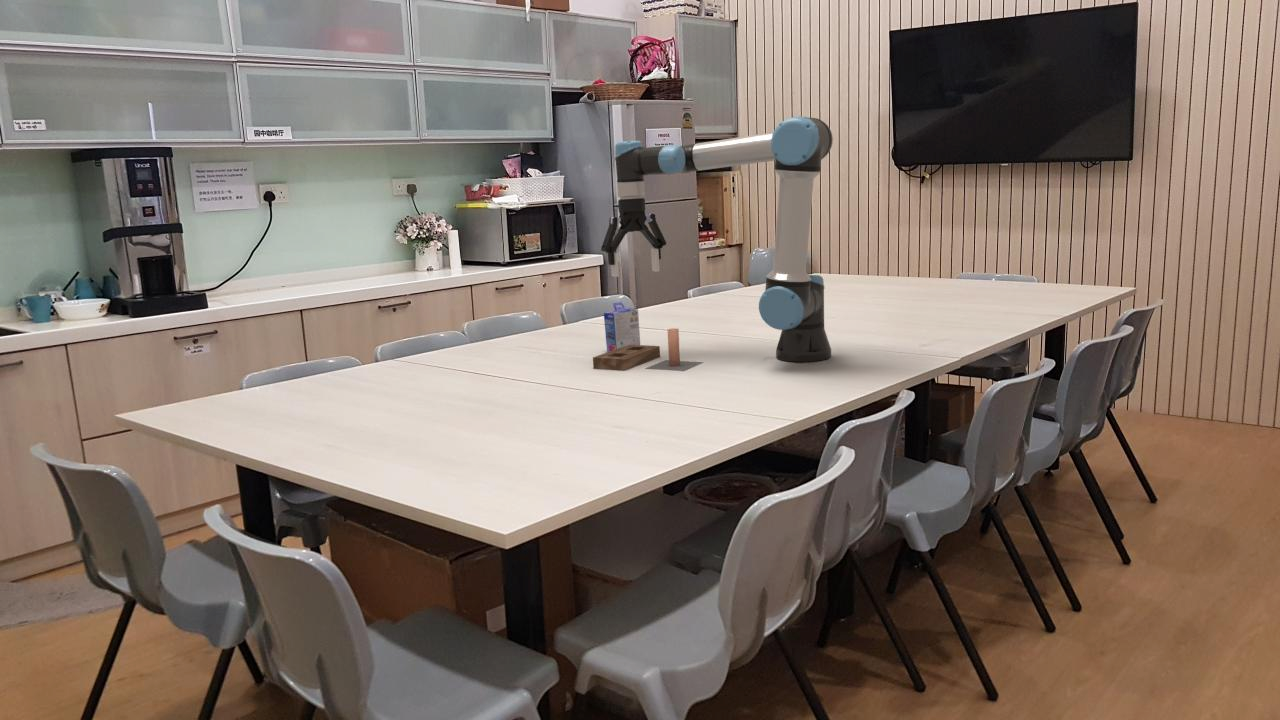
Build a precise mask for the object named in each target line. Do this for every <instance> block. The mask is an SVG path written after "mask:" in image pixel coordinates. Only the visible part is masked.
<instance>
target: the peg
mask: <svg viewBox="0 0 1280 720" xmlns="http://www.w3.org/2000/svg"><path fill="white" fill-rule="evenodd" d="M679 332H680V331H679V328H668V329H667V344H668V345H667V346H668V360H669V366H673V367H674V366H680V361H681V355H680V354H681V353H680V337H679V335H680V334H679Z"/></svg>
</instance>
